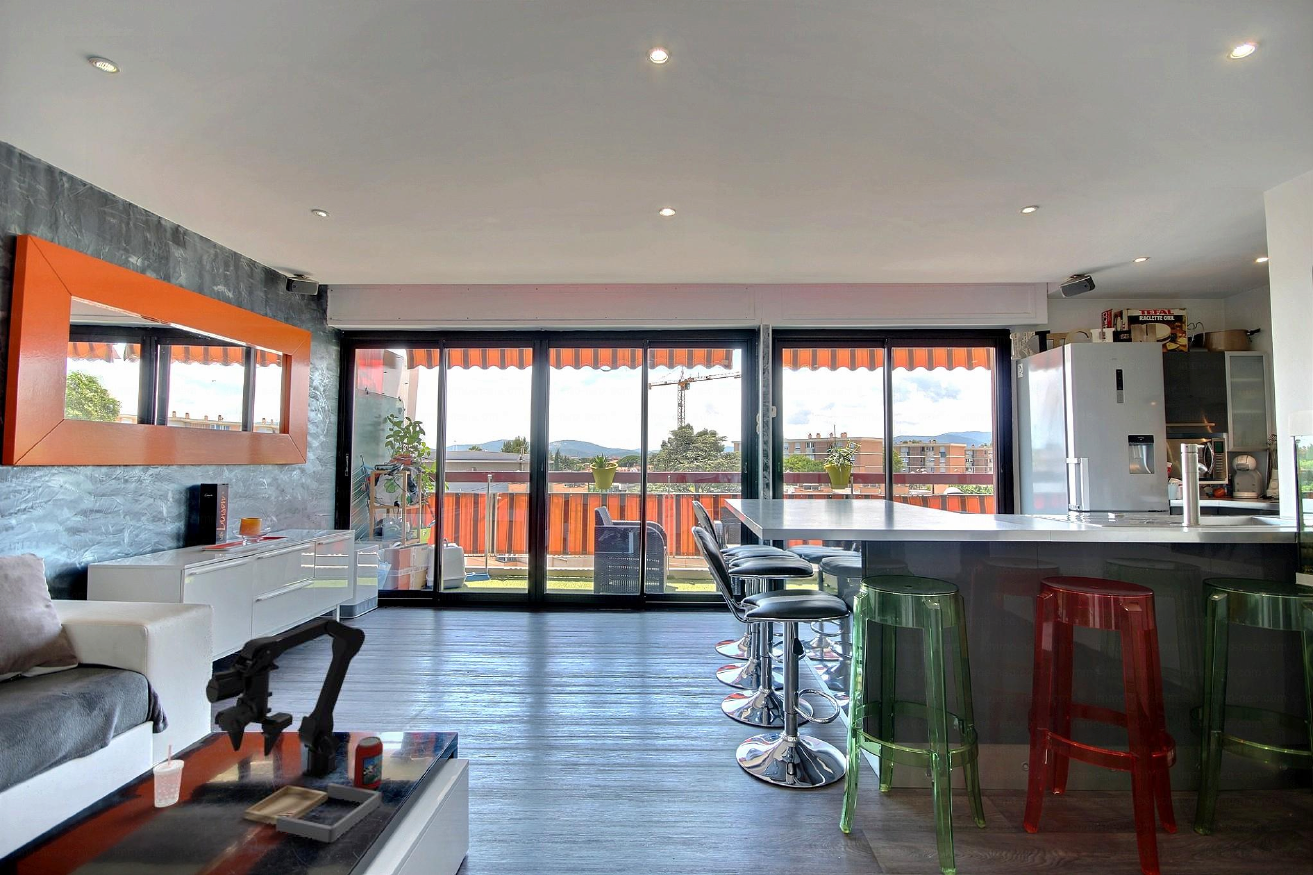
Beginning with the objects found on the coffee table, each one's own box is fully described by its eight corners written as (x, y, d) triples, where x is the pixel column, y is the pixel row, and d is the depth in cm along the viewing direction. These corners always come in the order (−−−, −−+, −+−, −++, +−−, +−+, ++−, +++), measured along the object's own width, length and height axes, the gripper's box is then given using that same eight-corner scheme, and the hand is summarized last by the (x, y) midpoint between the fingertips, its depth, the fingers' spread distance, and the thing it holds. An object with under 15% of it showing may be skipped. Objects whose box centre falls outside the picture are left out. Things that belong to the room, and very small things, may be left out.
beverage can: (370, 794, 160) (372, 747, 160) (347, 791, 161) (349, 744, 162) (386, 781, 167) (388, 736, 167) (364, 778, 168) (366, 733, 168)
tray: (243, 819, 148) (244, 810, 148) (287, 793, 160) (287, 784, 161) (286, 829, 145) (287, 819, 145) (327, 800, 157) (327, 792, 157)
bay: (276, 831, 143) (276, 817, 144) (330, 794, 160) (330, 782, 160) (331, 843, 140) (332, 829, 140) (381, 804, 156) (381, 792, 156)
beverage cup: (186, 799, 155) (190, 743, 156) (158, 811, 150) (161, 753, 151) (174, 793, 158) (177, 737, 159) (146, 804, 153) (149, 747, 153)
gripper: (196, 697, 151) (191, 762, 150) (259, 706, 147) (254, 773, 146) (236, 682, 162) (232, 743, 161) (296, 690, 158) (292, 752, 157)
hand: (251, 753), depth 156 cm, fingers open, 9 cm apart
